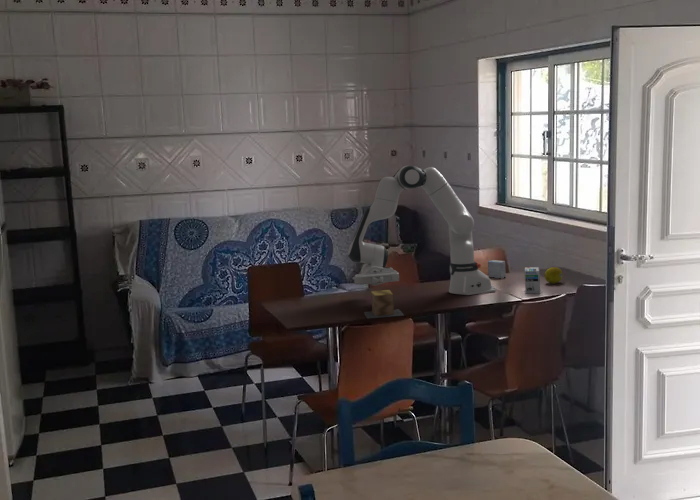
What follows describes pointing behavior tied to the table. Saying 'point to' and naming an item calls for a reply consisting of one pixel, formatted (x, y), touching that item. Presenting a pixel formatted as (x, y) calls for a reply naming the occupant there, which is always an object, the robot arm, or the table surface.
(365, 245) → the robot arm
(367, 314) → the charcoal mat
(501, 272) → the medicine box
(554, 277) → the lemon
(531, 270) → the light bulb box
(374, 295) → the letter block
